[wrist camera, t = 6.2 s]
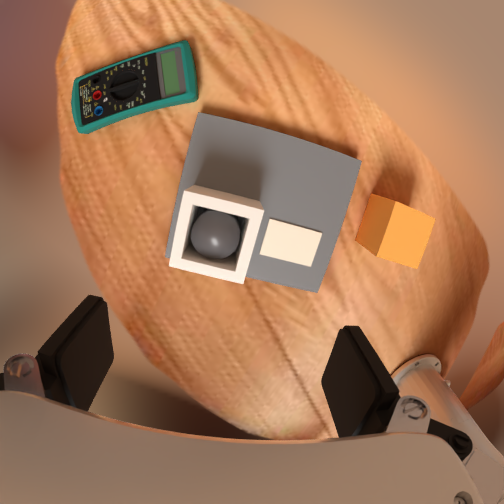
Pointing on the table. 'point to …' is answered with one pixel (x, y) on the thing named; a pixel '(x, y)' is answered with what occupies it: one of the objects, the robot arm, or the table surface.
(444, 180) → the table surface
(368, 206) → the orange foam cube
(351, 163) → the board
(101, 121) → the digital multimeter
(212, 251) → the breaker button
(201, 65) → the table surface
